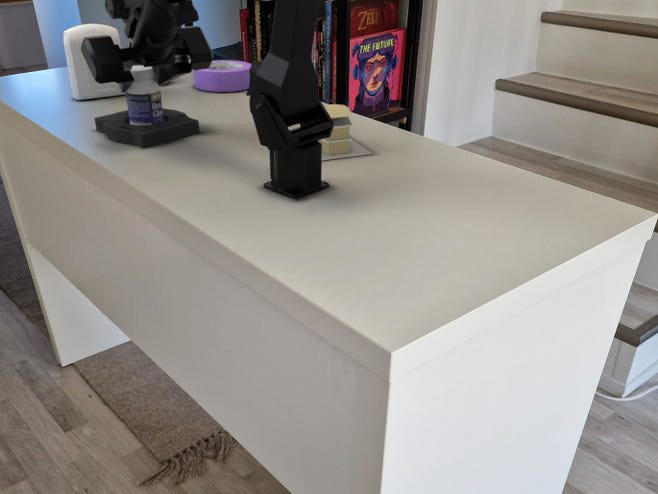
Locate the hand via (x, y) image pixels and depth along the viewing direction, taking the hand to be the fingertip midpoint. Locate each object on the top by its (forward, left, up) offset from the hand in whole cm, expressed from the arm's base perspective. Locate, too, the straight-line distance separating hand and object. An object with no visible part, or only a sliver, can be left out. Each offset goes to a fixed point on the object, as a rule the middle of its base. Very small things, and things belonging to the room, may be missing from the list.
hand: (138, 87), depth 106 cm
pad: (-1, 0, -7) cm, 7 cm away
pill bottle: (-1, 0, -7) cm, 7 cm away
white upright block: (+24, -7, -7) cm, 26 cm away
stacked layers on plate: (-28, -15, -7) cm, 33 cm away
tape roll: (+14, -29, -7) cm, 33 cm away
